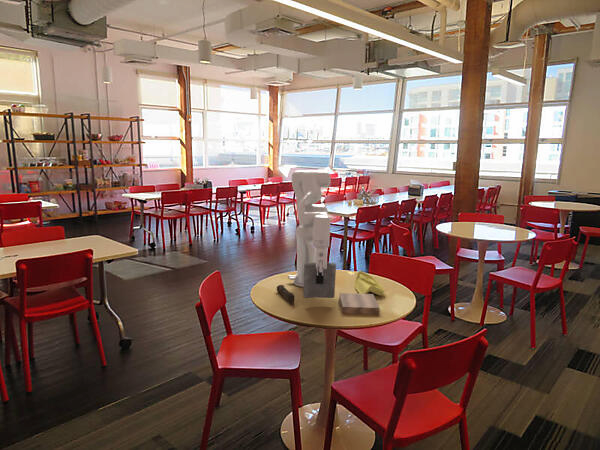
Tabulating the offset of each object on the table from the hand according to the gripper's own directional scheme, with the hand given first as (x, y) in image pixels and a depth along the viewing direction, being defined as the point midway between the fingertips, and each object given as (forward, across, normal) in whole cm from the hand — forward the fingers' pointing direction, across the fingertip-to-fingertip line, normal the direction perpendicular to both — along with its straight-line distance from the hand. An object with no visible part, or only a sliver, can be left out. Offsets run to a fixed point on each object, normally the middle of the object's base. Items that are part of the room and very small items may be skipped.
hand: (319, 281), depth 186 cm
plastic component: (+12, +21, -26) cm, 36 cm away
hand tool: (+12, +7, +14) cm, 20 cm away
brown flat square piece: (+11, -1, -18) cm, 21 cm away
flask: (+8, 0, 0) cm, 8 cm away
